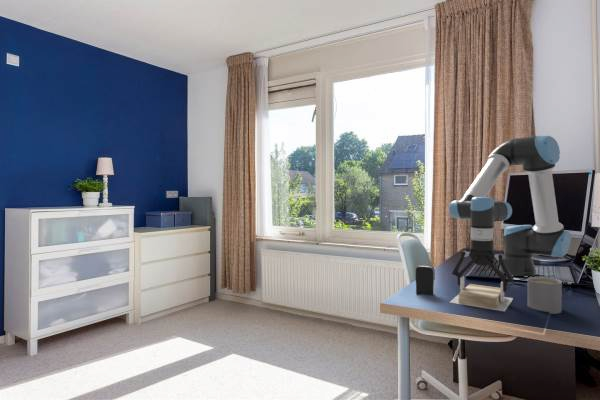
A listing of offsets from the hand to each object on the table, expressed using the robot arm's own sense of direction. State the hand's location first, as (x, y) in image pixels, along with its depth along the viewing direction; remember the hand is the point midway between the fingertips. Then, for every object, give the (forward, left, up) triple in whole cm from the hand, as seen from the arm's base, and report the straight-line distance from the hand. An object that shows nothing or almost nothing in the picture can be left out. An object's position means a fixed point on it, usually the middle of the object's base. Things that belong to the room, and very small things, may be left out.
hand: (481, 297), depth 143 cm
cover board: (0, 0, -1) cm, 1 cm away
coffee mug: (-5, +19, -2) cm, 20 cm away
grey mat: (0, 0, -2) cm, 2 cm away
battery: (+2, -20, -2) cm, 20 cm away
